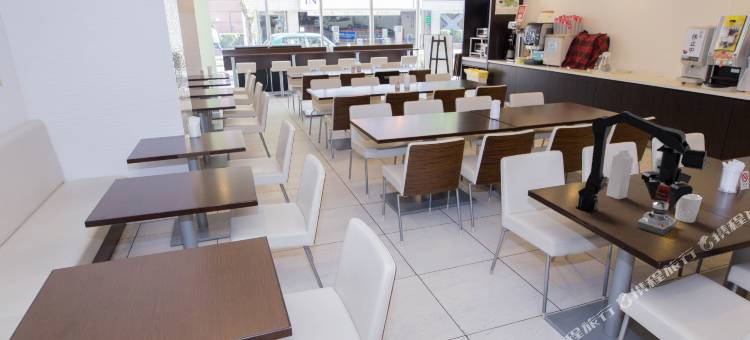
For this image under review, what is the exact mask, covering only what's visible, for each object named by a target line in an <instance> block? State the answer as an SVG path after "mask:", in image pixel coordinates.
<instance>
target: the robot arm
mask: <svg viewBox="0 0 750 340" xmlns="http://www.w3.org/2000/svg"><path fill="white" fill-rule="evenodd" d="M622 123H624V124H626V125H628V126H630V127H632V128H634V129H637V130H639V131H641V132H644V133H646V134H648V135H650V136H652V137H654V138H655V139H656V140H657V141H659V142H660V143H661V146H660V147H658V148H657V149H656V151H657V152H661V153H662V152H663V153H662V158H661V164H660V165H659V166H657V168H658V169H659V173H657V172H655V171H654V170H653V171H654V172H653V171H644V172H643V173H642V174H641V180H643V181H642V182H643V183H644V185H645V186H646V188H647V192H648V194H649V196H650V200H652V201H653V200H654V199H655V197H656V193H657V189H658V186H659V185H660V184H661V183H662V184H664V185H667V186H669V187H670V191H671V192H669V208H670V210H672V209H674V208H675V207H676V203H677V202H678V200H679V199H680V198H681V197H682V196H684V195H688V194H693V190H694V188H693V186H692V185H689V183H690V180H692V177H693V176H692V175H690V174H687V173H684V172H682V171H683V170H682V168H681V167H680V164H681V165H682V166H683V168H687V169H693V170H698V171H704V169H705V166H706V164H707V161H708V160H707V153H708V151H707V150H702V149H701V150H700V149H692V148H691V146H690V145H689V143H688V141H687V140H686V139H687V136H686V134H685V132H684V131H682V130H680V129H676V128H672V127H668V126H662V125H659V124H657V123H655V122H652V121H650V120H648V119H645V118H643V117H641V116H638V115H636V114H634V113H632V112H631V111H628V110H624V111H621V112H620V113H617V114H614V115H611V116H608V115H602V116H600V117H597V118H595V119H593V120H592V123H591V129H592V130H591V131H592V136H593V139H594V140H593V147H592V155H591V156H592V158H591V166H590V173H589V175H588V177H587V179H586V181H585V185H584V187H583V188H581V189H580V190H578V202H577V206H575V208H576V209H578V210H581V211H585V212H588V213H592V212H594V211H596V210H598V208H599V207H598V204H599V199H598V194H600V192H602V191H603V190H605V188H606V187H608V184H607V181H608V179H609V176H605V174H604V165H605V164H604V163H605V158H606V157H605V156H606V148H607V140H608V138H609V136H610V134H611V132H612V129H613V126H616V125H618V124H622ZM665 145H666V146H667V147H666V146H665ZM675 182H676V183H677V184H676V183H675ZM681 182H682V183H681Z"/></svg>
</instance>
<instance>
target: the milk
mask: <svg viewBox="0 0 750 340" xmlns="http://www.w3.org/2000/svg"><path fill="white" fill-rule="evenodd" d="M629 151H630V150H629V149H628V148H627V149H623V150H622V149H621V150H619V152H618V154H615V155H612V159H611V164H610V165H611V166H610V171H609V175H608V182H607V183H608V184H607V188H606V196H607V197H610V198H613V199H615V200H622V199H625V198H627V197H628V191H629V186H630V180H631V175H632V170H633V169H632V167H633V165H634V164H633V163H634V156H633V155H631V153H630V152H629Z"/></svg>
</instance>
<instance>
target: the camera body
mask: <svg viewBox="0 0 750 340" xmlns="http://www.w3.org/2000/svg"><path fill="white" fill-rule="evenodd" d="M677 222H678V220H677V219H676V218H673V217H672V216H671V215H669V214H667V216H666V220H658V219H655V218H651V211H647V212H645V213H643V216H642V217H641V218H639V219H638V220H637V226H636V228H638V229H641V230H643V231H644V230H645V231H648V232H650V233H653V234H658V235H661V236H664V235H666V234H667V233H670V231H672V230H673V229H675V228H676V226H677Z"/></svg>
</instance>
